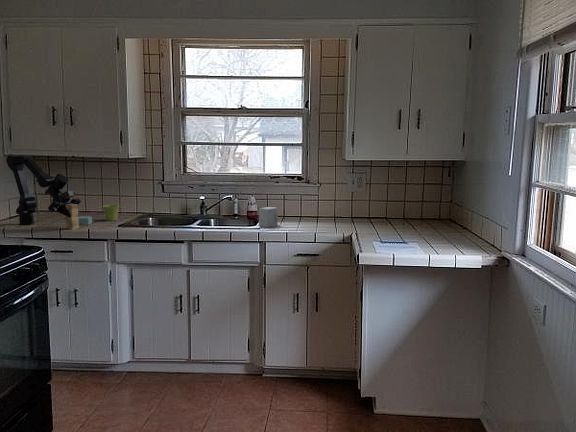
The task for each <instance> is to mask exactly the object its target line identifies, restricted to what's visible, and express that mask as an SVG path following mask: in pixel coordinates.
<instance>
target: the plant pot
mask: <svg viewBox="0 0 576 432" xmlns="http://www.w3.org/2000/svg"><path fill="white" fill-rule="evenodd" d="M119 207H120V205H118V204H108V205H107V204H106V205H102V208H103V211H104V215H105V221H107V222H109V221H110V222H112V221H115V220H116V221H118V214H119V213H118V212H119Z"/></svg>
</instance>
